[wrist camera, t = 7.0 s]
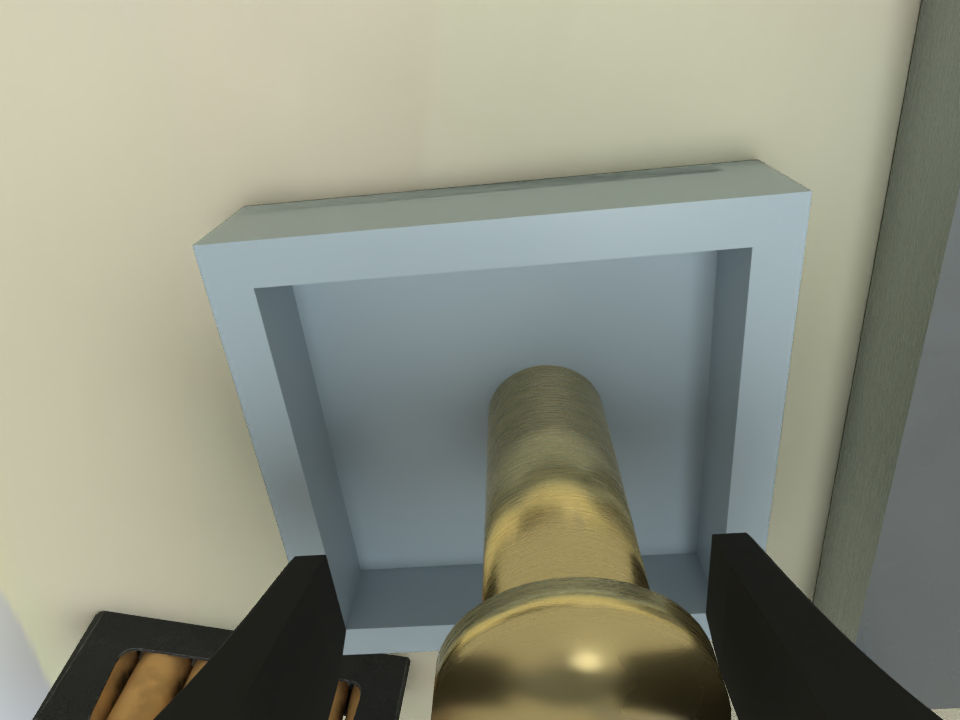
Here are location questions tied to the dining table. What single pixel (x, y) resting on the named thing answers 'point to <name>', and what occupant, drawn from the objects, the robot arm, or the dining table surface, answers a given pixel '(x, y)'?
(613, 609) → the gold flared cylinder
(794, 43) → the dining table surface
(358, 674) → the ammunition clip
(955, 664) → the metal plate with hole
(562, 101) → the dining table surface
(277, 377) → the tray
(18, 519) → the dining table surface
